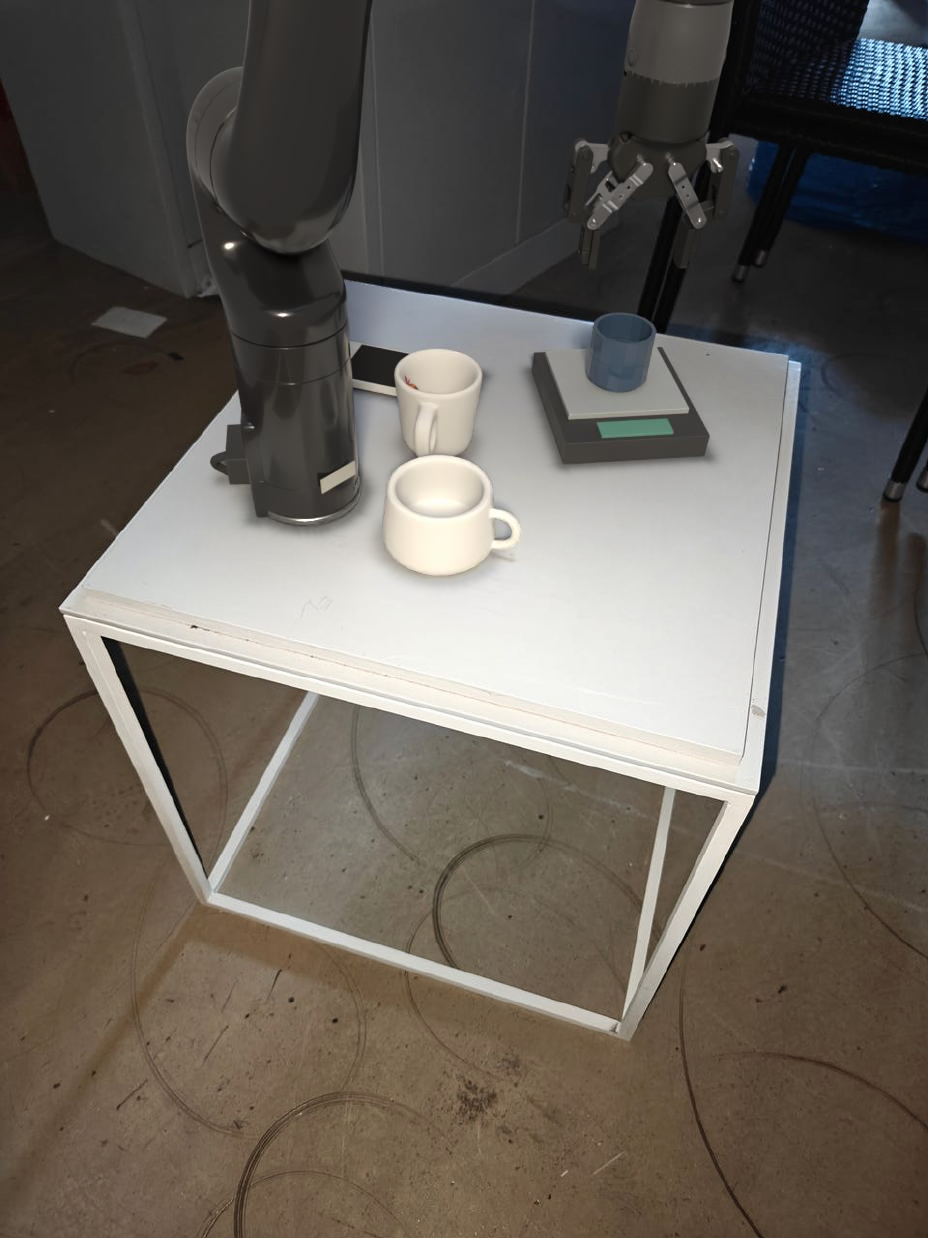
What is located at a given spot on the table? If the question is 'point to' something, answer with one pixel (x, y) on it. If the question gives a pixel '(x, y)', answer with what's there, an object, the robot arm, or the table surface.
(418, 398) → the cup
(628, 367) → the dark blue tumbler
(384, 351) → the smartphone
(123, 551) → the table surface
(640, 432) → the scale
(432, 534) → the mug
